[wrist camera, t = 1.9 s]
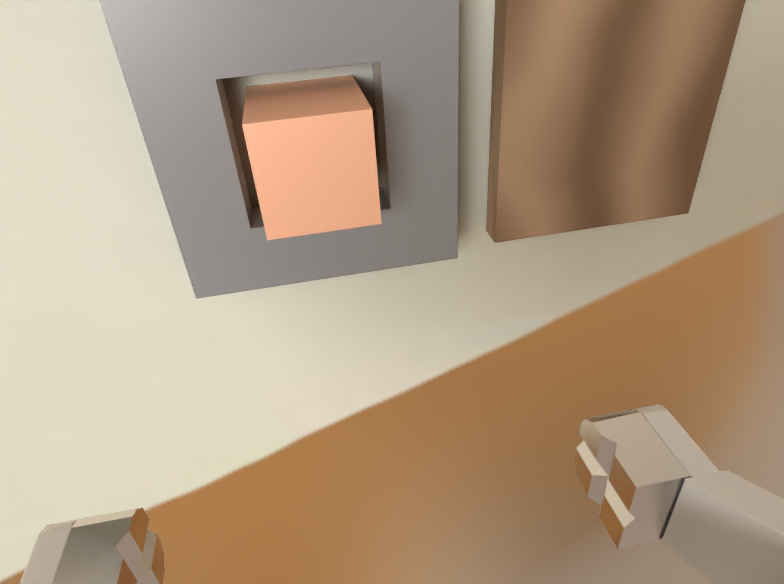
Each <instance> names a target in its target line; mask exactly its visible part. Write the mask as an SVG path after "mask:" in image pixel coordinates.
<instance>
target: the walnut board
mask: <svg viewBox="0 0 784 584" xmlns="http://www.w3.org/2000/svg"><path fill="white" fill-rule="evenodd" d="M744 4H745V0H495V22H494V47H493V73H492V99H491V124H490V150H489V175H488V201H487V226H486V231H487V232H488V234H489V235H490V237H491V238H492V239H493V241H494V242H495V243H497V242H503V241H510V240H516V239H523V238H529V237H536V236H542V235H549V234H555V233H562V232H569V231H575V230H582V229H588V228H595V227H601V226H608V225H614V224H621V223H627V222H634V221H640V220H647V219H654V218H660V217H667V216H673V215H680V214H686V213H688V212H689V208H690V204H691V201H692V197H693V193H694V189H695V186H696V182H697V178H698V175H699V171H700V167H701V163H702V160H703V156H704V152H705V149H706V145H707V141H708V137H709V134H710V130H711V126H712V122H713V119H714V115H715V111H716V108H717V104H718V100H719V96H720V93H721V89H722V85H723V82H724V78H725V74H726V70H727V67H728V63H729V59H730V56H731V52H732V48H733V44H734V41H735V37H736V33H737V30H738V26H739V22H740V18H741V15H742V11H743V7H744Z"/></svg>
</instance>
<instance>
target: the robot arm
mask: <svg viewBox="0 0 784 584" xmlns="http://www.w3.org/2000/svg"><path fill="white" fill-rule="evenodd" d="M579 433H580V435H581V436H582V438H583V439H584V441H583V442H582V443H581V444H580V445H579V446H578V447H577V448H576V453H575V465H576V472H577V475H578V478H579V481H580V483H581V485H582V487H583V489H584V491H585V493H586V494H587V496H588V497H589V498H591V499H592V500H594V501H596V502H597V503H599V504H600V505H601V509H600V515H599V518H600V519H601V521H602V523H603V524H604V526H605V528H606V530H607V531H608V533H609V535H610V537H611V538H612V540H613V542H614V543H615V545H616V547H617V549H620V548H626V547H631V546H636V545H640V544H645V543H651V542H655V541H660V540H662V541H661V543H662V544H663V545H664V546H665V547H667V548H668V549H669V550H671V551H672V552H673V553H675V554H676V555H677V556H678V557H680V558H681V559H682V560H684V561H685V562H686V563H688V564H689V565H690V566H692V567H693V568H694V569H696V570H697V571H698V572H700V573H701V574H702V575H704V576H705V577H706V578H707V579H709V580H710V581H711V582H713V583H714V584H784V499H782V498H780V497H779V496H777V495H774V494H773V493H771V492H769V491H767V490H765V489H763V488H761V487H759V486H757V485H755V484H753V483H751V482H750V481H748V480H746V479H744V478H742V477H740V476H738V475H736V474H734V473H732V472H730V471H728V470H723V471H719V470H718V469H717V468H716V467H715V465H714V464H713V463H712V462H711V461H710V459H709V458H708V457H707V456H706V455H705V454H704V452H703V451H702V450H701V449H700V448H699V447H698V445H697V444H696V443H695V442H694V441H693V439H692V438H691V437H690V436H689V435H688V434H687V432H686V431H685V430H684V429H683V428H682V427H681V426H680V424H679V423H678V422H677V421H676V420H675V418H674V417H673V416H672V415H671V414H670V413H669V411H668V410H667V409H666V408H665V407H663V406H661V405H659V404H658V405H653V406H647V407H643V408H638V409H634V410H632V409H629V410H625V411H620V412H616V413H611V414H606V415H601V416H597V417H592V418H587V419H585V420H584V421H583V422H582V423H581V427H580V431H579ZM148 523H149V518H148V516H147V515H146V513H145V511H144V510H143V508H140V509H134V510H128V511H122V512H116V513H111V514H105V515H99V516H93V517H87V518H82V519H76V520H71V521H65V522H60V523H55V524H50V525H46V526H45V528H44V529H43V530H42V531H41V533H40V534H39V535H38V537H37V540H36V543H35V545H34V548H33V551H32V553H31V556H30V558H29V561H28V564H27V566H26V569H25V572H24V574H23V577H22V579H21V582H20V584H163V579H164V572H165V571H164V552H163V548H162V544H161V541H160V539H159V537H158V535H157V534H156V533H153V532H151V531H148V530H147V527H148Z"/></svg>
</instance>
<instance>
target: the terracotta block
mask: <svg viewBox="0 0 784 584" xmlns="http://www.w3.org/2000/svg"><path fill="white" fill-rule="evenodd" d="M242 127H243V132H244V136H245V141H246V146H247V150H248V155H249V159H250V164H251V168H252V173H253V178H254V182H255V187H256V191H257V196H258V200H259V205H260V210H261V214H262V219H263V223H264V228H265V232H266V237H267V240H273V239H280V238H287V237H294V236H301V235H308V234H315V233H322V232H329V231H336V230H343V229H349V228H356V227H363V226H370V225H377V224H382V223H381V211H380V199H379V186H378V174H377V162H376V150H375V138H374V126H373V114H372V108H371V106H370V104H369V103H368V101H367V99H366V98H365V96H364V94H363V92H362V91H361V89H360V87H359V86H358V84H357V82H356V80H355V79H354V77H353V75H350V76H341V77H332V78H323V79H314V80H305V81H296V82H287V83H278V84H268V85H259V86H250V87H247V88H246V96H245V104H244V112H243V119H242Z"/></svg>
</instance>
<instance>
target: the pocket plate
mask: <svg viewBox="0 0 784 584" xmlns="http://www.w3.org/2000/svg"><path fill="white" fill-rule="evenodd" d="M99 1H100V4H101V7H102V10H103V13H104V16H105V20H106V23H107V26H108V29H109V32H110V35H111V38H112V41H113V44H114V47H115V50H116V53H117V56H118V60H119V63H120V66H121V69H122V72H123V75H124V78H125V81H126V84H127V87H128V90H129V93H130V96H131V100H132V103H133V106H134V109H135V112H136V115H137V118H138V121H139V124H140V127H141V130H142V133H143V136H144V140H145V143H146V146H147V149H148V152H149V155H150V158H151V161H152V164H153V167H154V170H155V173H156V176H157V179H158V183H159V186H160V189H161V192H162V195H163V198H164V201H165V204H166V207H167V210H168V213H169V216H170V219H171V223H172V226H173V229H174V232H175V235H176V238H177V241H178V244H179V247H180V250H181V253H182V256H183V259H184V263H185V266H186V269H187V272H188V275H189V278H190V281H191V284H192V287H193V290H194V293H195V296H196V299H197V298H203V297H209V296H216V295H222V294H229V293H235V292H242V291H248V290H255V289H261V288H268V287H274V286H280V285H287V284H293V283H300V282H306V281H313V280H319V279H326V278H332V277H338V276H345V275H351V274H358V273H364V272H371V271H377V270H384V269H390V268H396V267H403V266H409V265H416V264H422V263H429V262H435V261H442V260H448V259H455V258H458V96H459V0H99ZM371 62H372V65H373V77H374V90H375V103H376V116H377V128H378V141H379V154H380V167H381V179H382V190H379V199H380V211H381V223H382V224H377V225H370V226H363V227H356V228H349V229H343V230H336V231H329V232H322V233H315V234H308V235H301V236H294V237H287V238H280V239H273V240H267V237H266V232H265V228H264V223H263V219H262V214H261V210H260V206H258V207H251V202H250V198H249V194H248V189H247V185H246V181H245V176H244V172H243V167H242V163H241V159H240V154H239V150H238V145H237V141H236V137H235V132H234V128H233V124H232V119H231V115H230V110H229V106H228V102H227V97H226V93H225V89H224V84H223V80H222V79H223V78H233V77H242V76H251V75H260V74H269V73H279V72H288V71H297V70H306V69H316V68H325V67H334V66H343V65H352V64H362V63H371Z"/></svg>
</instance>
